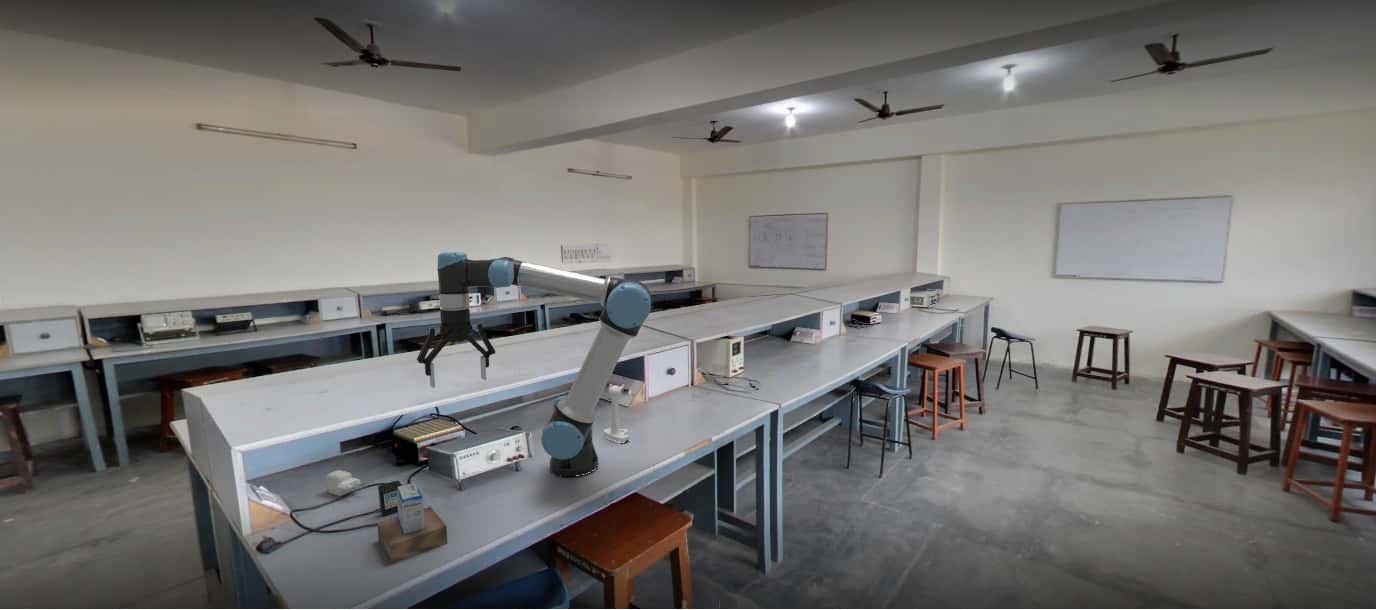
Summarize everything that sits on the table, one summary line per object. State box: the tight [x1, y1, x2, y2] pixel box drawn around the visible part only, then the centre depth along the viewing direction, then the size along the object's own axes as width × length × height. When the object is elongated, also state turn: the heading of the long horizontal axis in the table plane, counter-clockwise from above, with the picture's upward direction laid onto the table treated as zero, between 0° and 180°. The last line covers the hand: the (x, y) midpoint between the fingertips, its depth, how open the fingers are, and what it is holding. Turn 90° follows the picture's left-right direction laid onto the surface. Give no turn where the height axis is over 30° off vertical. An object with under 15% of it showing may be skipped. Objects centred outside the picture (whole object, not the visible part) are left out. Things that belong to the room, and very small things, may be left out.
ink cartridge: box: [377, 479, 402, 517], centre depth 140 cm, size 5×2×8 cm, turn 131°
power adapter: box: [326, 469, 366, 497], centre depth 150 cm, size 11×5×6 cm, turn 69°
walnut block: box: [376, 506, 448, 565], centre depth 127 cm, size 12×12×5 cm
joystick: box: [602, 385, 631, 442], centre depth 191 cm, size 11×8×20 cm
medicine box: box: [397, 482, 424, 534], centre depth 126 cm, size 8×4×9 cm, turn 37°
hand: (458, 382), depth 150 cm, fingers open, 13 cm apart
